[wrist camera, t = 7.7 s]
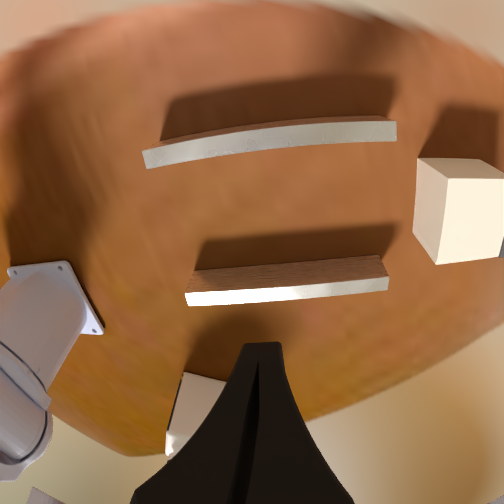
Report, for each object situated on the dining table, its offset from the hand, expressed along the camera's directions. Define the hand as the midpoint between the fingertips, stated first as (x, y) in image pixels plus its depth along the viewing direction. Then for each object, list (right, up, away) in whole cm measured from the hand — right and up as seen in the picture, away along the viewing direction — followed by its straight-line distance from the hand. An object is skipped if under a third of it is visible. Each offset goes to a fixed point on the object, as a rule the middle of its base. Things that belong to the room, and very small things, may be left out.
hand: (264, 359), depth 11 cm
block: (+12, +8, +5) cm, 15 cm away
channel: (+1, +7, +7) cm, 9 cm away
